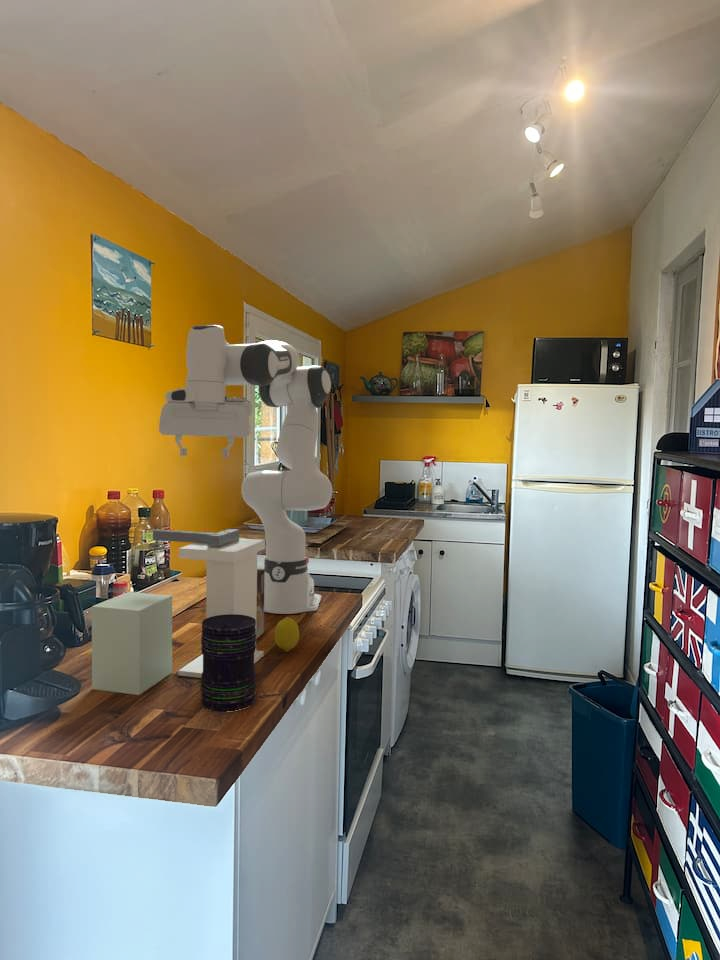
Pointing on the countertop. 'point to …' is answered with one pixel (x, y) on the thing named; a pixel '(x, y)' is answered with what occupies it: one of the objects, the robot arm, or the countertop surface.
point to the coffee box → (260, 603)
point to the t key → (199, 537)
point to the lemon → (287, 634)
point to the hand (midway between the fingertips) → (204, 456)
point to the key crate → (131, 642)
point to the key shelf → (227, 584)
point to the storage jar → (228, 662)
